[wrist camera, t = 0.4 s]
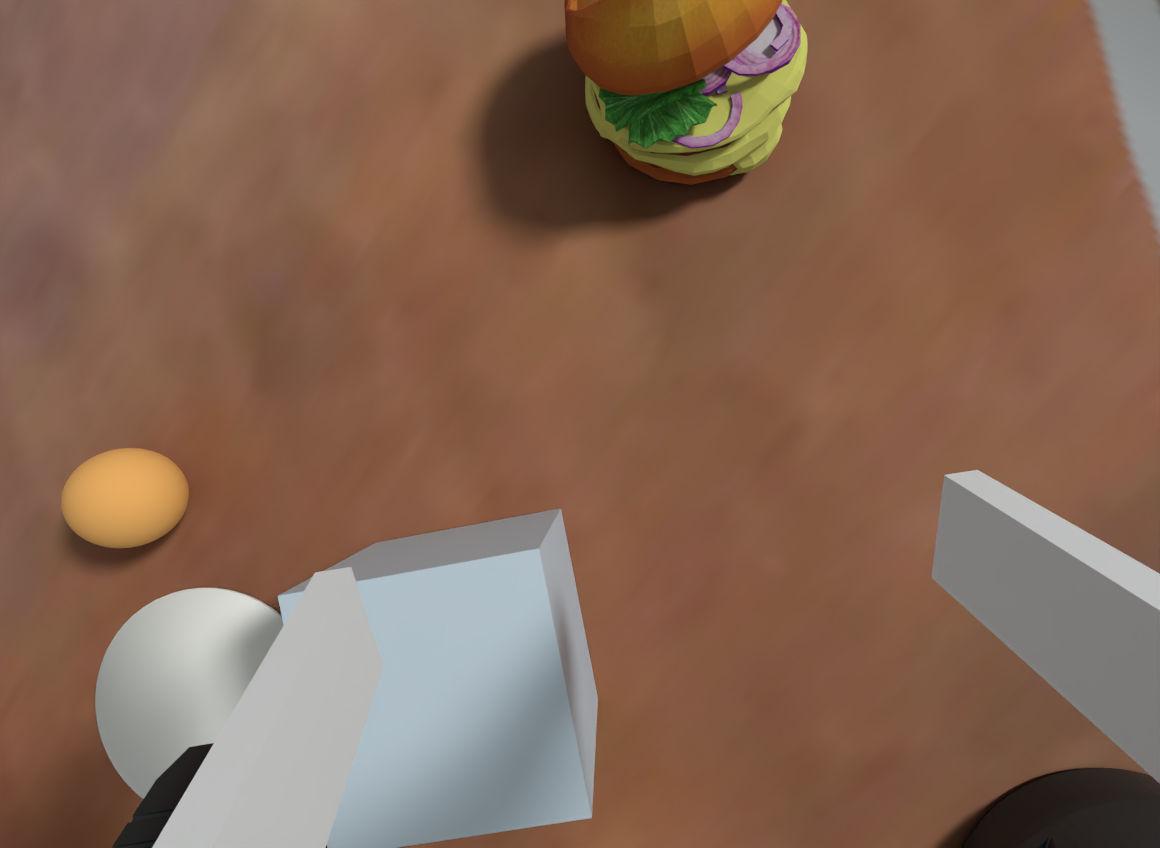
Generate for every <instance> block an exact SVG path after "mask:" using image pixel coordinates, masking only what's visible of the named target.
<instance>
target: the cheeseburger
mask: <svg viewBox="0 0 1160 848" xmlns="http://www.w3.org/2000/svg"><path fill="white" fill-rule="evenodd" d="M565 22H566V39H567V44H568V48H569V51H570V53H571V54H572V56H573V58H574V59H575V61H576V63H577V64H578V66H579V67H580V69H581V71H582V72H583V73H584V74H585V75H586V78H585V100H586V107H587V109H588V112H589V115H590V118H591V120H592V122H593V124H594V126H595V128H596V130H597V131H598V132H599V133H600V136H601V137H604V138H607V139H609V140H611V141H612V143H613V144H614V146H615V147H616V148H617V150H618V151H619V152H620V154H621V155H622V157H623V158H624V159H625V161H626V162H627V163H628V165H630V166H632V167H634V168H636V169H638V170H639V171H641V172H643V173H645V174H647V175H649V176H651V177H653V178H655V179H656V180H661V181H668V182H676V183H683V184H691V185H693V184H697V183H702V182H706V181H711V180H715V179H720V178H724V177H727V176H728V175H735V174H739V173H747V172H750V171H752V170H753V169H755V168H756V167H758V166H759V165H761V164H762V163H764V162H765V161H766V160H767V158H768V157H769V155H770V154H771V152H772V151H773V149H774V148H775V146H776V145H777V143H778V142H779V139H780V136H781V133H782V124H781V123H782V121H783V119H784V116H785V114H786V112H787V110H788V108H789V105H790V100H791V95H792V94H793V93H794V92H796V91H797V89H798V86H799V84H800V81H801V79H802V77H803V74H804V70H805V65H806V58H807V35H806V33H805V31H804V30H803V28H802V26H801V24H800V22H799V21H798V19H797V17H796V15H795V14H794V12H793V11H792V9H791V8H790V6H789V5H788V3H787V1H786V0H565Z"/></svg>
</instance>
